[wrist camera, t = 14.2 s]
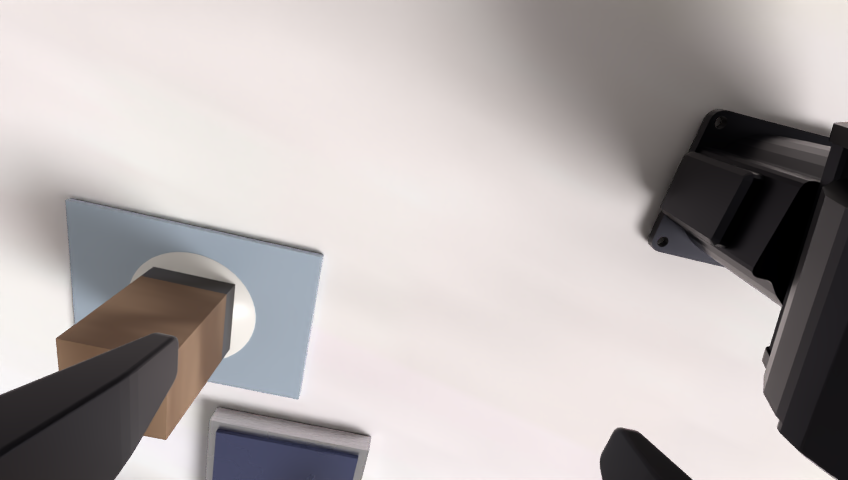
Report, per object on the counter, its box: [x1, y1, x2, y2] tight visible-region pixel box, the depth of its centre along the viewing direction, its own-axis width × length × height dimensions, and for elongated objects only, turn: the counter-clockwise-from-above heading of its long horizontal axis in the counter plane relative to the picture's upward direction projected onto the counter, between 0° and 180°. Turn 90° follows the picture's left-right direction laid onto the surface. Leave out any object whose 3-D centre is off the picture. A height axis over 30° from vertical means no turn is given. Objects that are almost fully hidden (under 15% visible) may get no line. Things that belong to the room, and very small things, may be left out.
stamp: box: [56, 267, 235, 440], centre depth 20 cm, size 4×4×6 cm
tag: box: [66, 198, 323, 399], centre depth 22 cm, size 12×9×1 cm
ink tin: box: [205, 407, 371, 480], centre depth 26 cm, size 9×7×1 cm
